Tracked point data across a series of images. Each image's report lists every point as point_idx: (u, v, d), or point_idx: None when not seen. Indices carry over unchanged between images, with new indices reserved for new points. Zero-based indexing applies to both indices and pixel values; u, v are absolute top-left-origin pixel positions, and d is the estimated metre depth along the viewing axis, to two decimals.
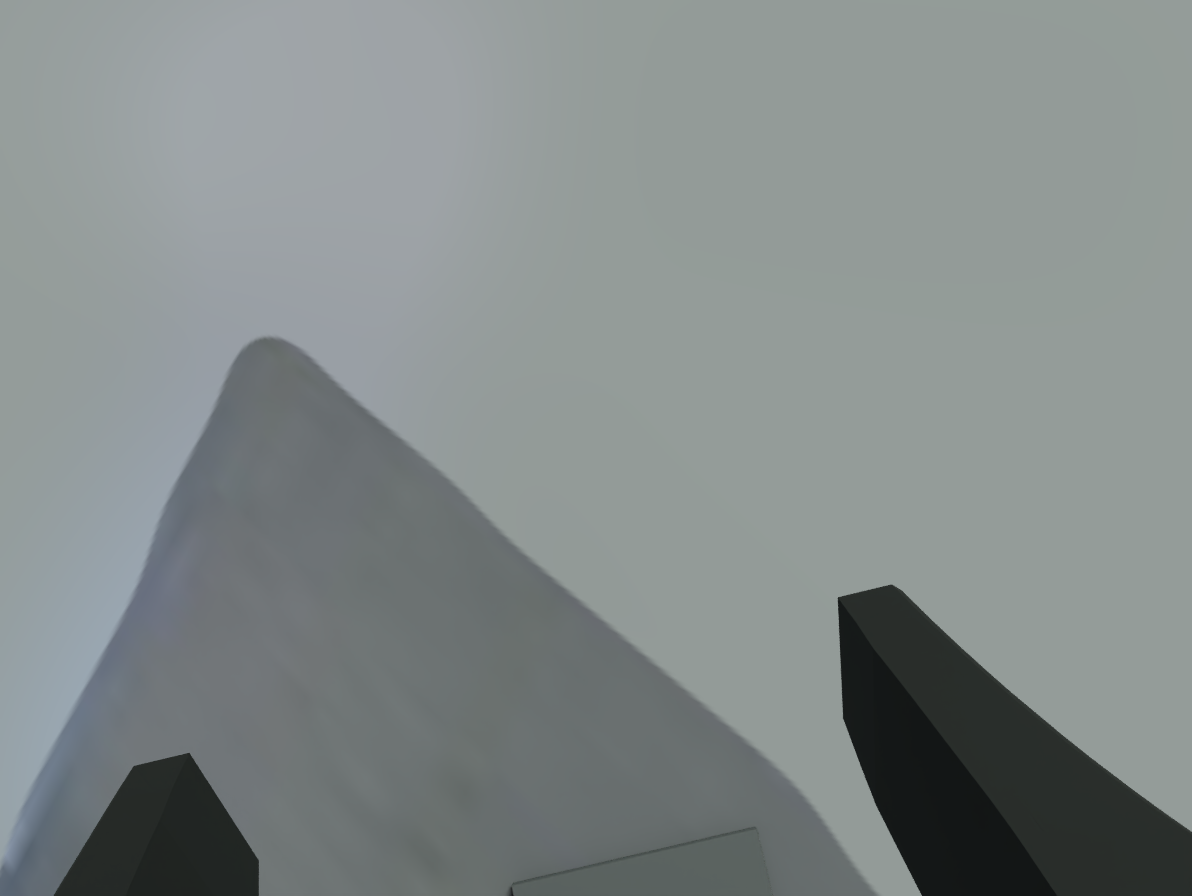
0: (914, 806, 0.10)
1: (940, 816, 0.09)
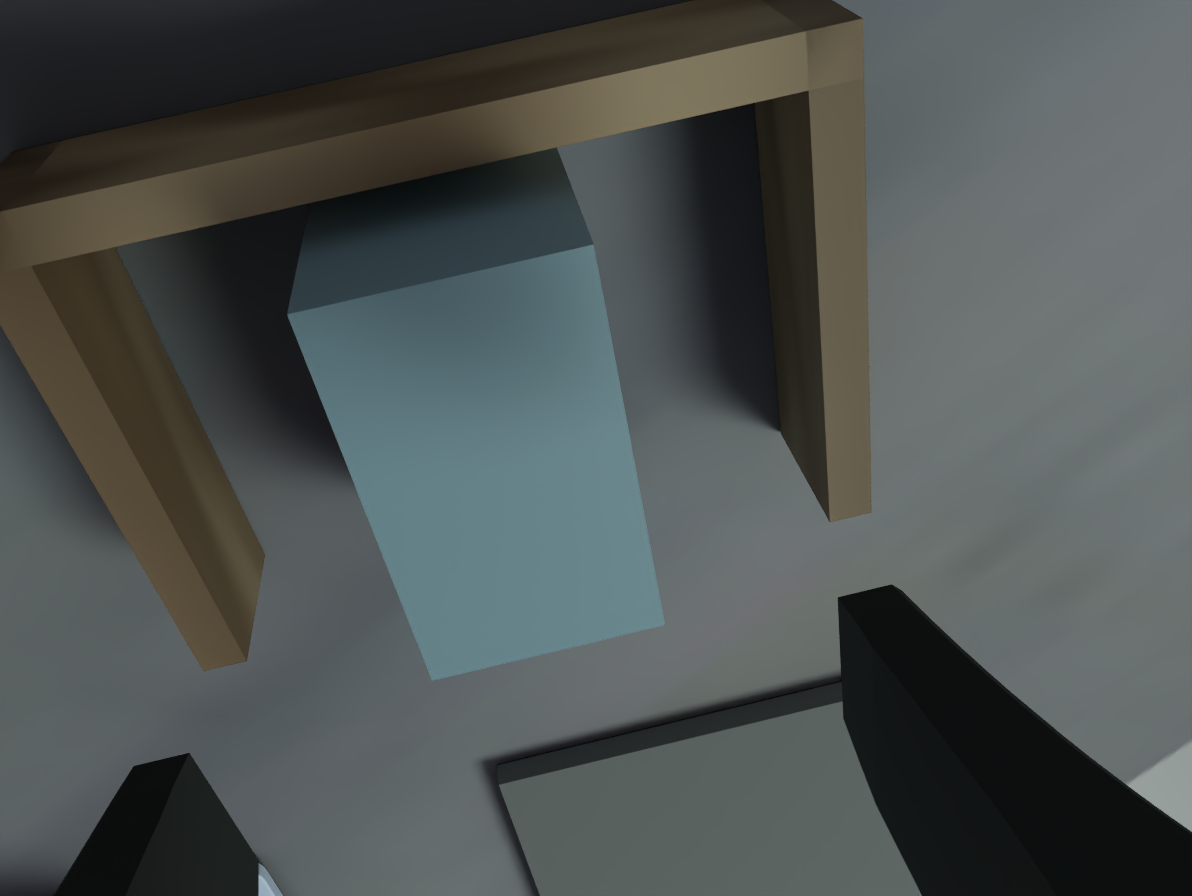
0: (914, 806, 0.10)
1: (940, 816, 0.09)
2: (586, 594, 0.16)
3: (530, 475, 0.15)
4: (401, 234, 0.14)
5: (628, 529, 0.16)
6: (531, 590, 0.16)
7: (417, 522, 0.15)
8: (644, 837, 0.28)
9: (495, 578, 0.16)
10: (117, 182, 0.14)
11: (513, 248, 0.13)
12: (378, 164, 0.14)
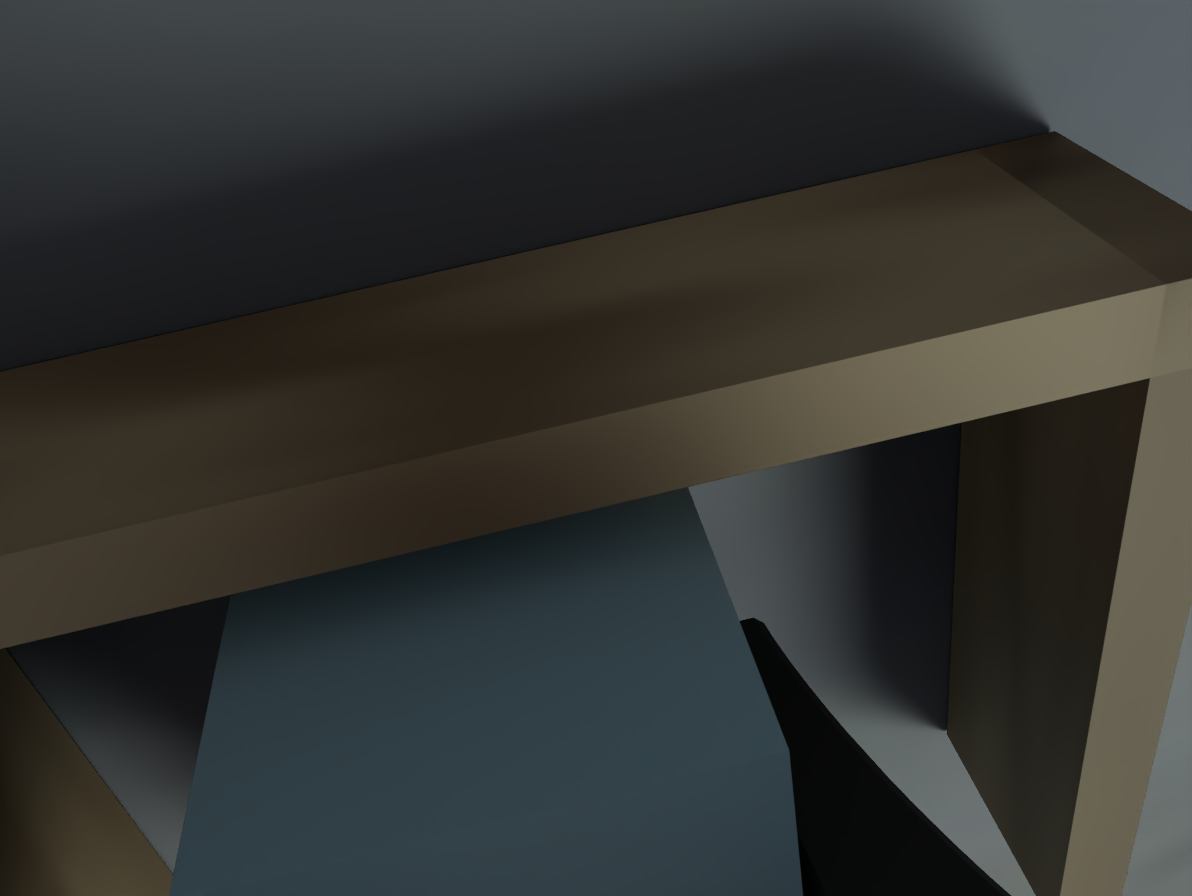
0: None
1: None
2: None
3: None
4: (401, 641, 0.08)
5: None
6: None
7: None
8: None
9: None
10: None
11: (623, 736, 0.07)
12: (357, 530, 0.07)
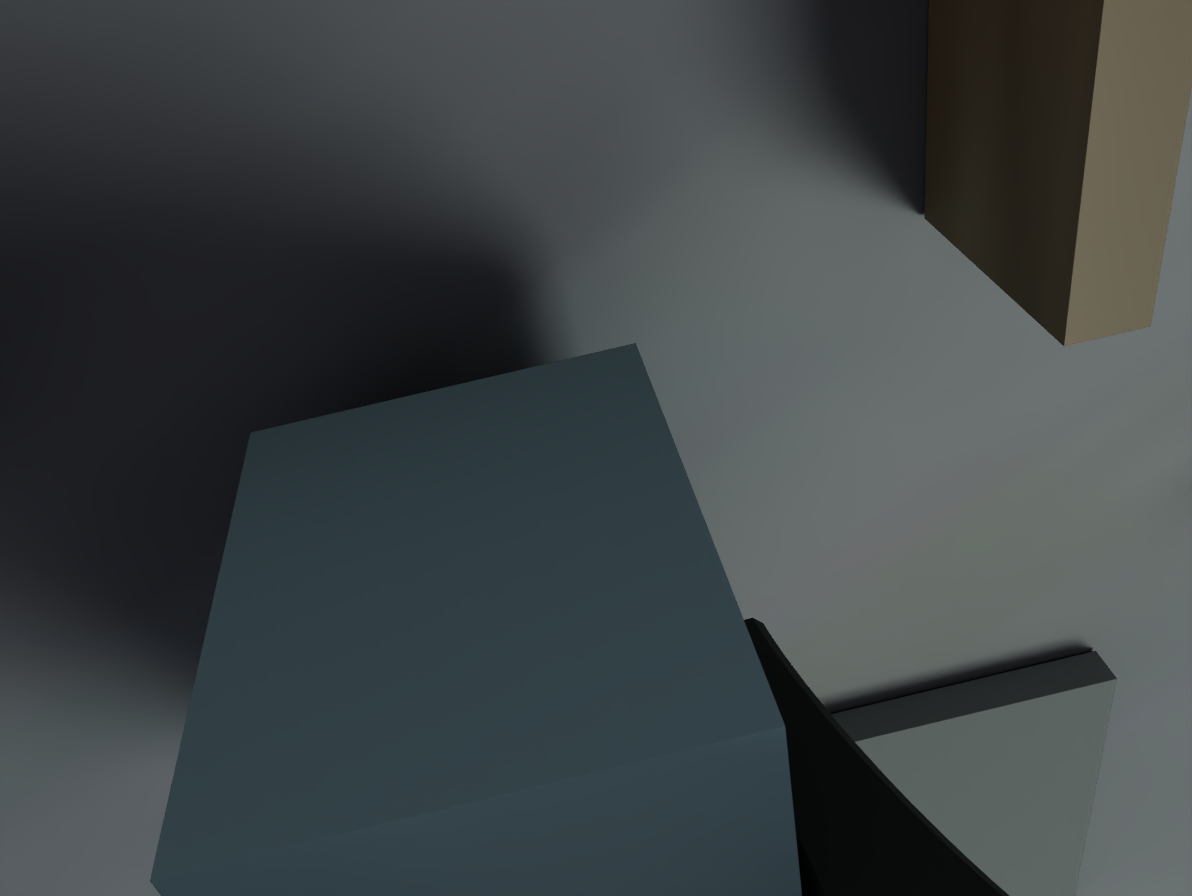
0: None
1: None
2: None
3: None
4: (391, 619, 0.08)
5: None
6: None
7: None
8: None
9: None
10: None
11: (615, 712, 0.07)
12: None
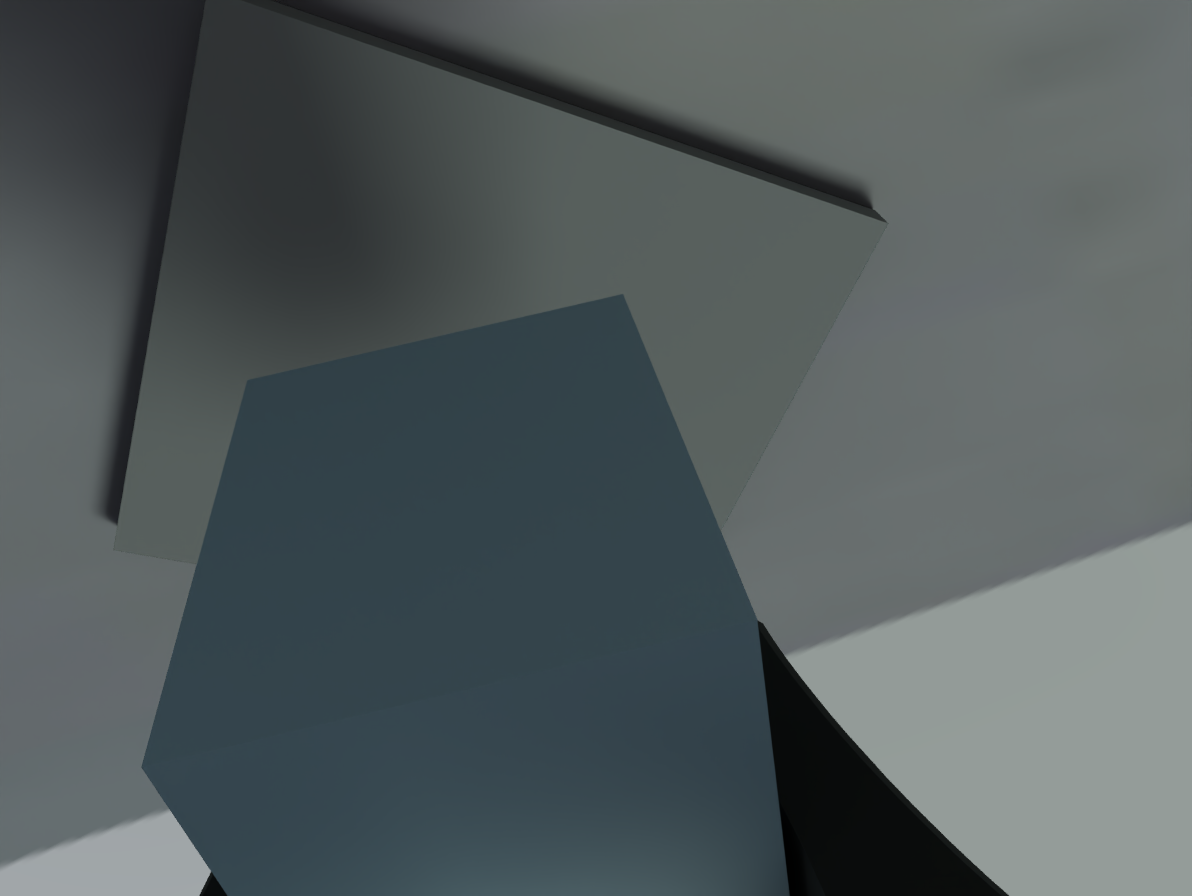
0: None
1: None
2: None
3: None
4: (378, 539, 0.08)
5: None
6: None
7: None
8: (377, 287, 0.16)
9: None
10: None
11: (593, 611, 0.07)
12: None
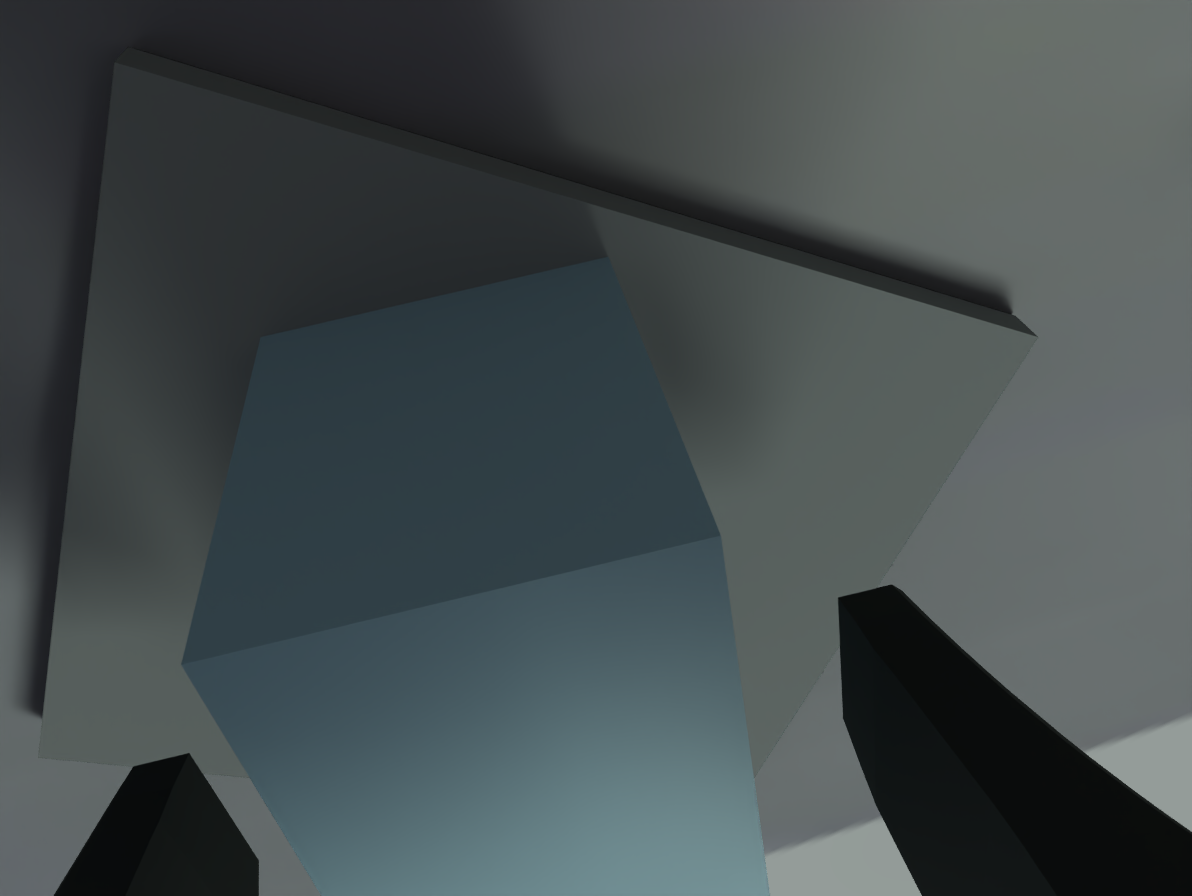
0: (914, 806, 0.10)
1: (940, 816, 0.09)
2: None
3: (594, 847, 0.09)
4: (385, 473, 0.09)
5: None
6: None
7: None
8: None
9: None
10: None
11: (578, 532, 0.08)
12: None
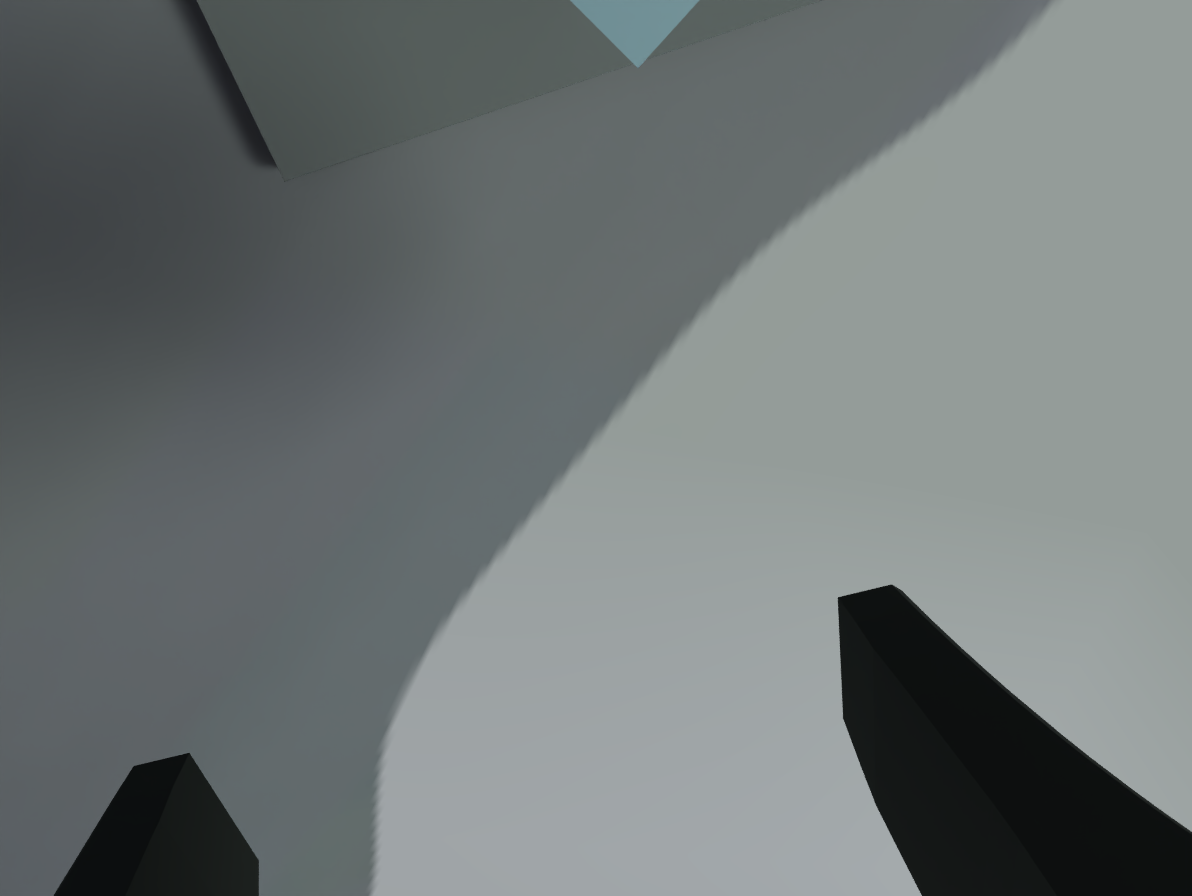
0: (914, 806, 0.10)
1: (940, 816, 0.09)
2: None
3: None
4: None
5: None
6: None
7: None
8: None
9: None
10: None
11: None
12: None
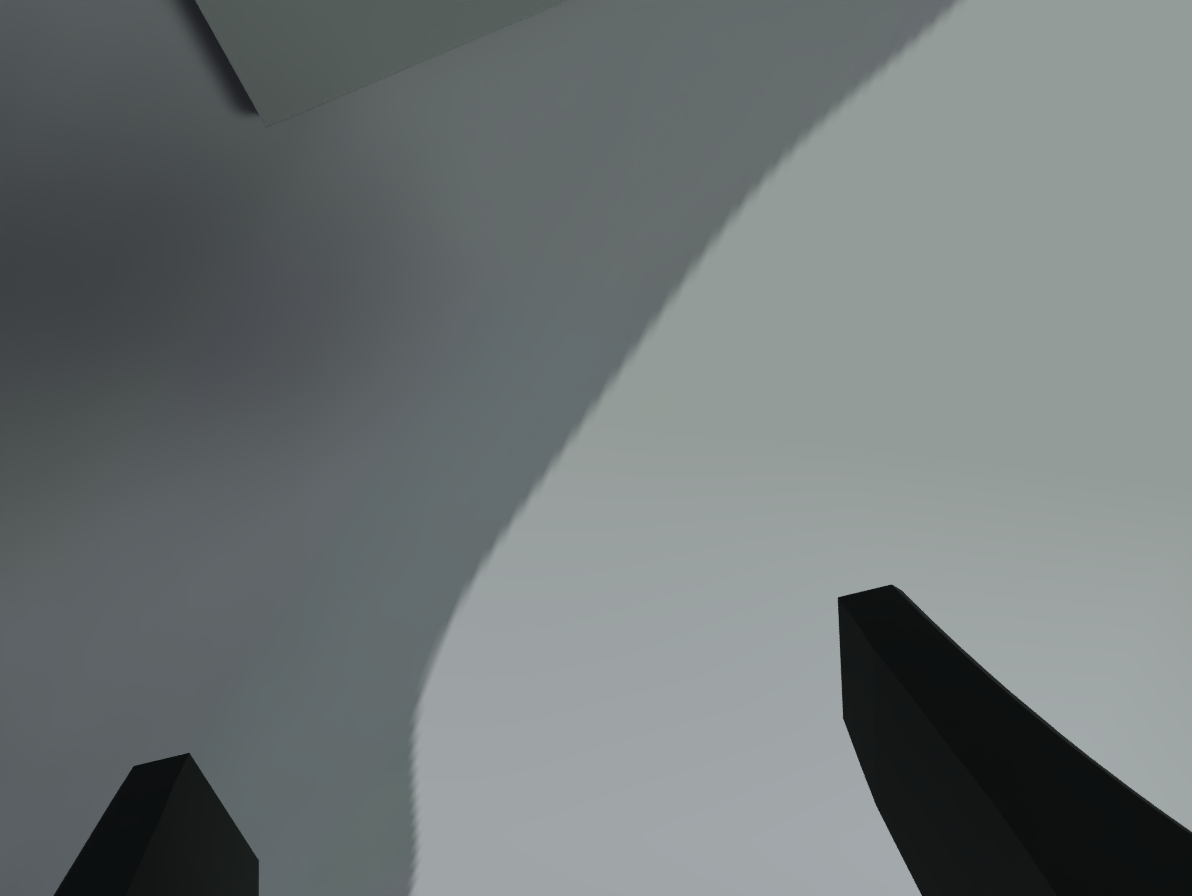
0: (915, 806, 0.10)
1: (941, 816, 0.09)
2: None
3: None
4: None
5: None
6: None
7: None
8: None
9: None
10: None
11: None
12: None
